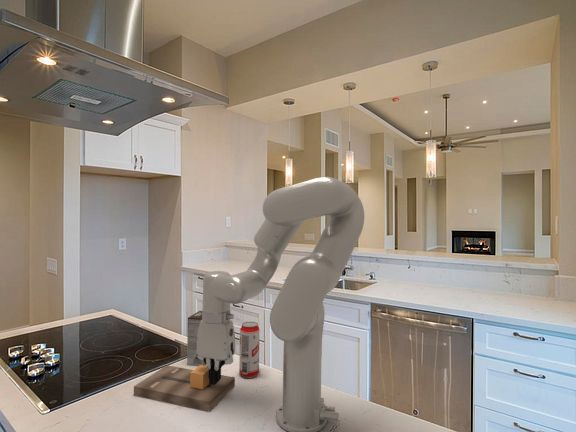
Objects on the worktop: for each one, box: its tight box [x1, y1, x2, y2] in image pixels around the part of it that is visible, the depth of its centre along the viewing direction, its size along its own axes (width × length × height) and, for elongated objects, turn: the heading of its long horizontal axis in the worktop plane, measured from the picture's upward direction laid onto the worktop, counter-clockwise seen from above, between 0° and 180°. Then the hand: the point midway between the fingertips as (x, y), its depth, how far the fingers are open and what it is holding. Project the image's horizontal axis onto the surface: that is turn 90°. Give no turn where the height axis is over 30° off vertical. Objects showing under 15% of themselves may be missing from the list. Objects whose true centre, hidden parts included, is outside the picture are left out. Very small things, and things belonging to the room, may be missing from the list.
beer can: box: [238, 321, 261, 379], centre depth 105 cm, size 6×6×16 cm
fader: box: [190, 365, 209, 389], centre depth 93 cm, size 4×5×4 cm
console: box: [133, 365, 236, 413], centre depth 94 cm, size 24×14×3 cm, turn 72°
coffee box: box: [186, 310, 207, 367], centre depth 115 cm, size 9×6×16 cm
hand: (214, 382), depth 92 cm, fingers closed
